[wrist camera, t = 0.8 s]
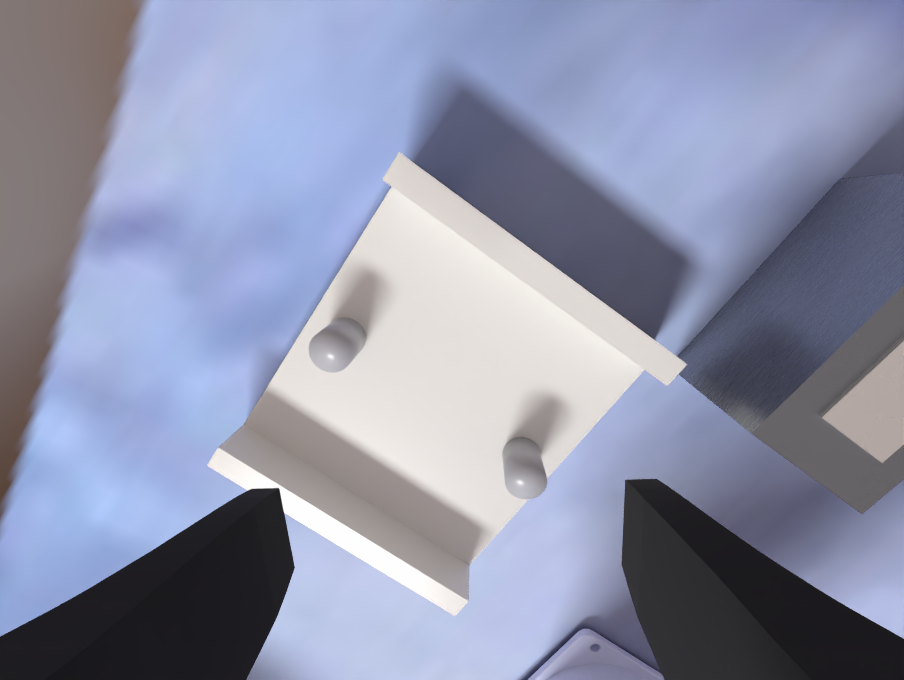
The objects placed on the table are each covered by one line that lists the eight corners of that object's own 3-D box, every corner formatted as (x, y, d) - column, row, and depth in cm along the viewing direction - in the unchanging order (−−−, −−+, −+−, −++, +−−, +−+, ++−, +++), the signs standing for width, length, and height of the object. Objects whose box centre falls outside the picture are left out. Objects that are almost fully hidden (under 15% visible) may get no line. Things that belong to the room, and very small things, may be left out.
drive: (923, 250, 17) (1160, 270, 11) (747, 423, 19) (866, 517, 13) (838, 178, 16) (1038, 160, 11) (667, 365, 19) (754, 435, 13)
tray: (654, 340, 18) (687, 364, 15) (457, 563, 22) (454, 616, 19) (412, 162, 17) (399, 152, 14) (245, 430, 21) (207, 465, 18)
